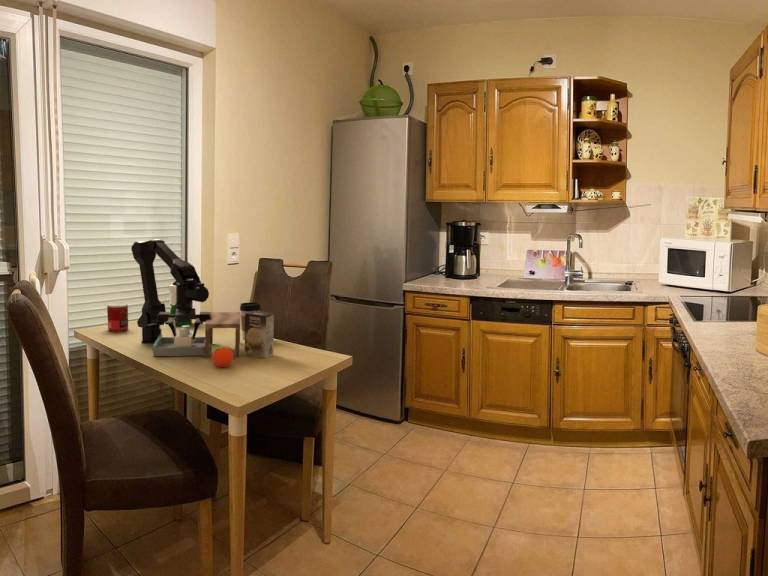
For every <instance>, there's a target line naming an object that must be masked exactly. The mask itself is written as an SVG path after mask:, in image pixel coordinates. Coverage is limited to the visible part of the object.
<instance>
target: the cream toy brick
mask: <svg viewBox="0 0 768 576" xmlns="http://www.w3.org/2000/svg"><path fill="white" fill-rule="evenodd" d="M178 330H179V331H178V332H176V335H175V337H174V336H173V337H174V347H191V346H192V344H193V343H194V341H195V339H194V340H193V333H194V331H191V325H185V326H181V328H179V329H178Z"/></svg>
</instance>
